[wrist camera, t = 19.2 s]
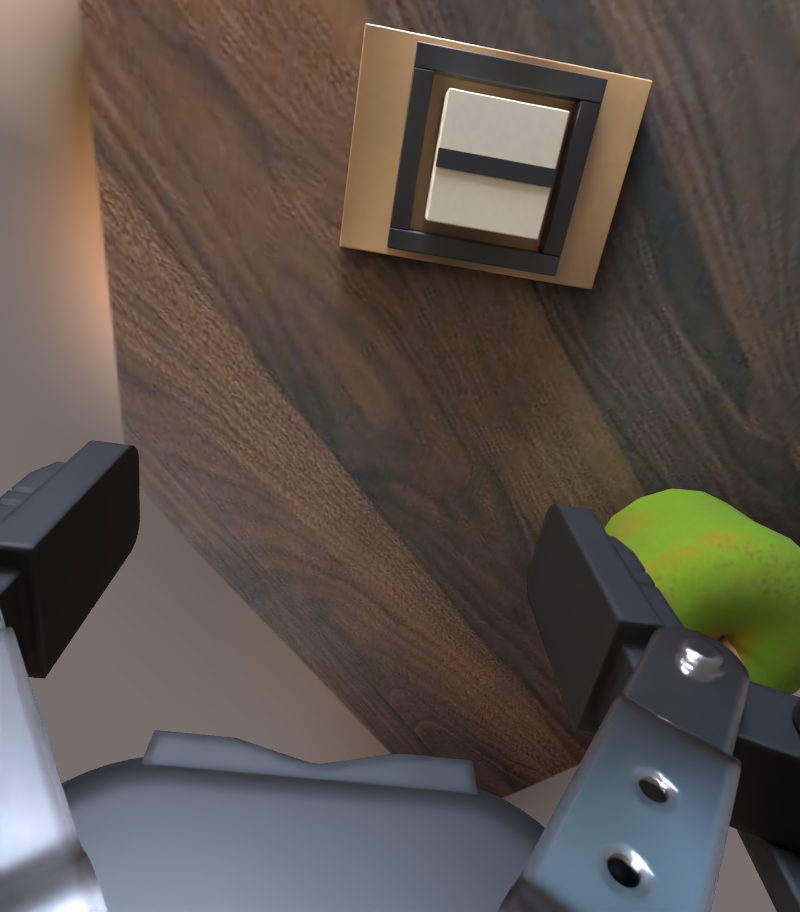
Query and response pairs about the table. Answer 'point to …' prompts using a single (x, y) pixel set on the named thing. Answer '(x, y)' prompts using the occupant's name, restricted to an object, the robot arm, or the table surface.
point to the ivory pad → (494, 163)
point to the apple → (721, 577)
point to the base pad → (414, 141)
